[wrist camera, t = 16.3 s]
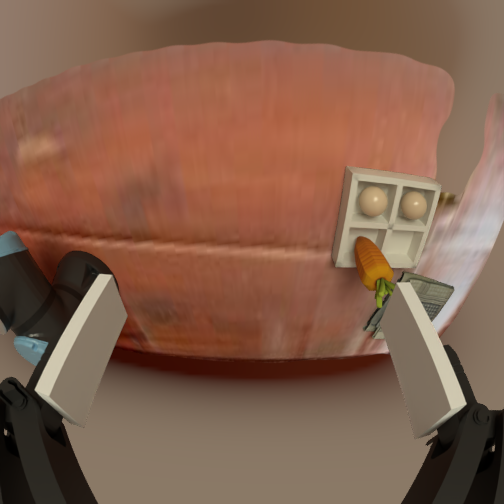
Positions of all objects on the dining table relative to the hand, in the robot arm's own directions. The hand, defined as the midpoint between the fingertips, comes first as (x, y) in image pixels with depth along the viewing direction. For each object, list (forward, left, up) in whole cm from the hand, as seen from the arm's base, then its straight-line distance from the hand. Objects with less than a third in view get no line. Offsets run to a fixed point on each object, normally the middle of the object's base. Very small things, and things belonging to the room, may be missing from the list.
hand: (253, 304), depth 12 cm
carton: (-10, -21, -31) cm, 39 cm away
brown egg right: (-6, -25, -30) cm, 40 cm away
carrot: (-14, -17, -30) cm, 38 cm away
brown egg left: (-6, -17, -30) cm, 35 cm away
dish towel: (-32, -35, -31) cm, 57 cm away
